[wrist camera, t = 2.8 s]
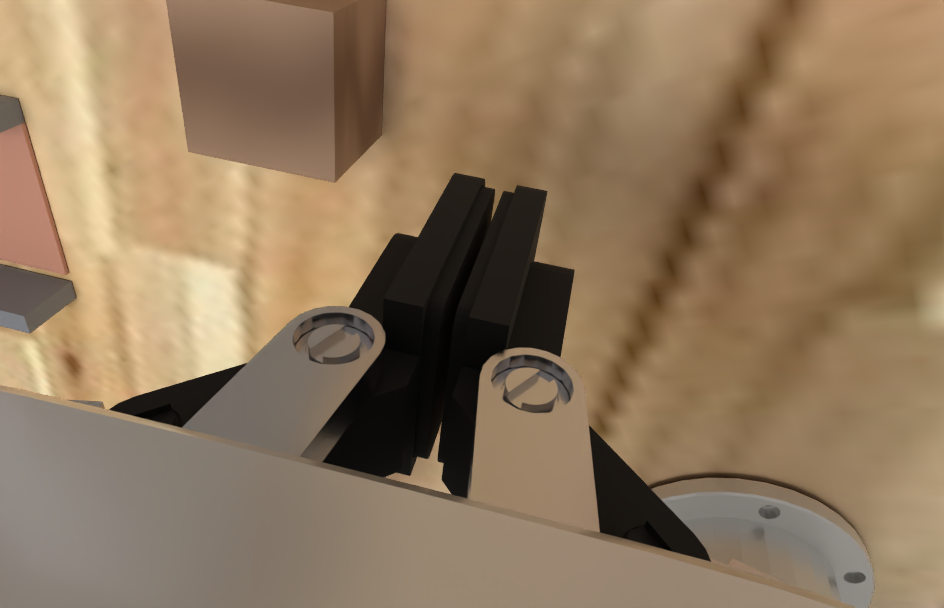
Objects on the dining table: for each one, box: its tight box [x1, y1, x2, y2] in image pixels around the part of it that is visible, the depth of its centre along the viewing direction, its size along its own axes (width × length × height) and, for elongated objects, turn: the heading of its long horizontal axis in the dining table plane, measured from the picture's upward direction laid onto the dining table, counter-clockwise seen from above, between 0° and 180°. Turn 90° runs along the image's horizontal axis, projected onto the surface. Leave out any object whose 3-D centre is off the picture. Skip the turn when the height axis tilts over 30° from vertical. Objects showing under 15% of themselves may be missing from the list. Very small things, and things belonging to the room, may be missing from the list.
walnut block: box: [166, 0, 387, 183], centre depth 21 cm, size 5×5×4 cm
